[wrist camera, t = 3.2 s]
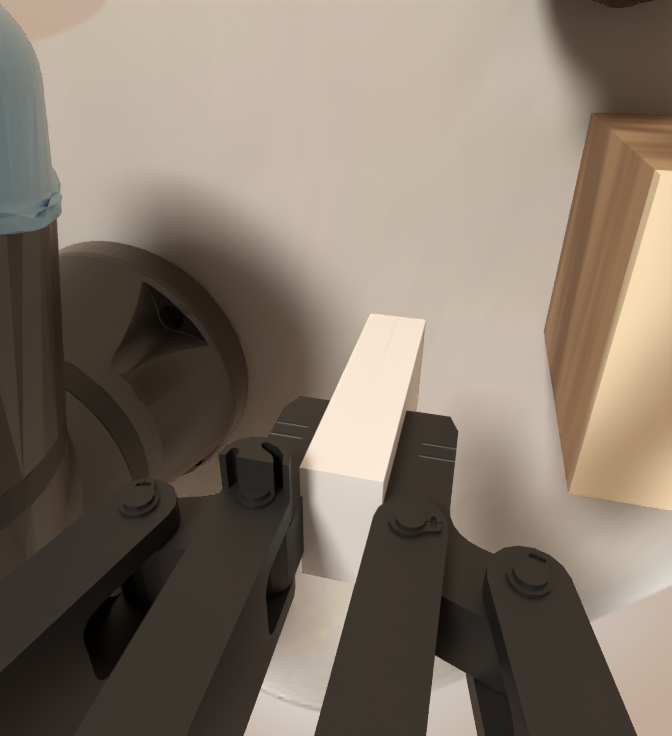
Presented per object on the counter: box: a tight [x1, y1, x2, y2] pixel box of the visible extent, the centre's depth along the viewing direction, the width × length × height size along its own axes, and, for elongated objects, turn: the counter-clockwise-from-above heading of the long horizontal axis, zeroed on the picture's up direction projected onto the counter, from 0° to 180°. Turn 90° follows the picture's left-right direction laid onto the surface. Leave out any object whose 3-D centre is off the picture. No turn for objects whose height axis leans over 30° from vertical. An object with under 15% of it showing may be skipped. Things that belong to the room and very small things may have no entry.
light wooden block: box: [544, 113, 672, 511], centre depth 21 cm, size 4×10×12 cm, turn 0°
